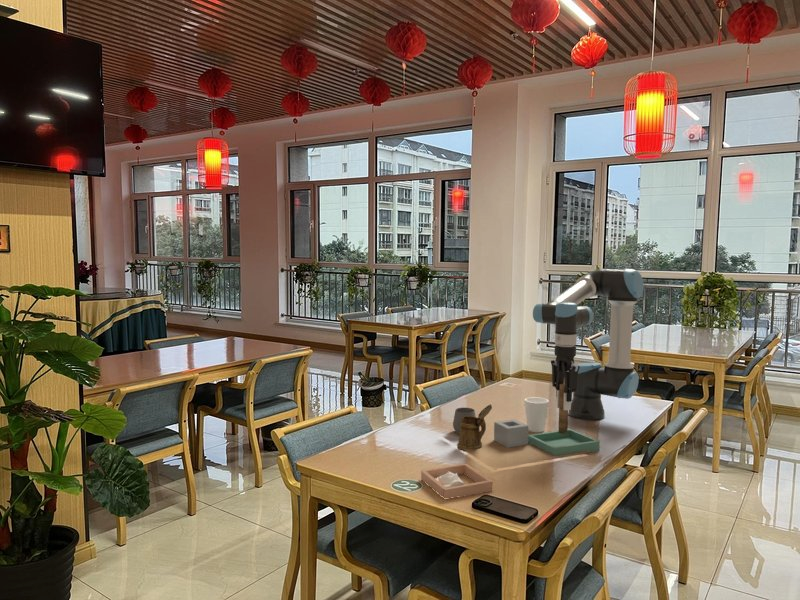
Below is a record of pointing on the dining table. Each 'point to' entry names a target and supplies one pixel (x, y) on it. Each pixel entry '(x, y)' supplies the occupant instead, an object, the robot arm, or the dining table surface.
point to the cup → (458, 417)
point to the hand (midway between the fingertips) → (563, 408)
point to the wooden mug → (472, 430)
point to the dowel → (562, 412)
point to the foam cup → (536, 413)
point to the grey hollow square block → (511, 433)
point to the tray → (564, 442)
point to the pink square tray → (479, 487)
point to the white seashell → (450, 480)
